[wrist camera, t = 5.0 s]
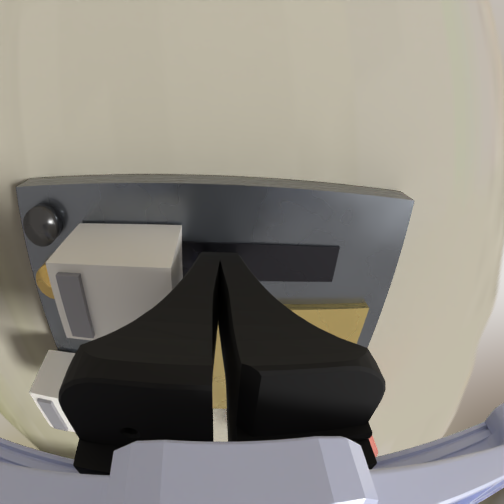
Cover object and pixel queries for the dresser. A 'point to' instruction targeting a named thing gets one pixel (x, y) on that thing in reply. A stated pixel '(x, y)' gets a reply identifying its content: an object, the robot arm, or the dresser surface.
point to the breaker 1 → (52, 388)
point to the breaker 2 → (113, 275)
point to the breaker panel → (239, 239)
